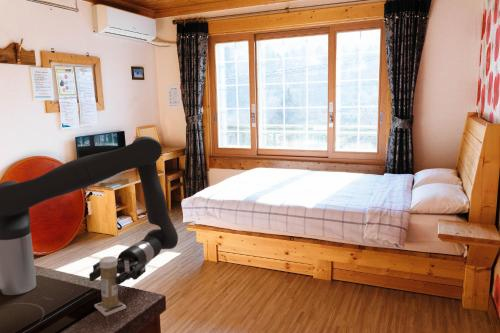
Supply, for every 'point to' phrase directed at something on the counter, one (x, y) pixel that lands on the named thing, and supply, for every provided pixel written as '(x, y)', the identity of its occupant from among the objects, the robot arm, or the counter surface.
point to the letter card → (109, 310)
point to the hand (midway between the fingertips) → (103, 279)
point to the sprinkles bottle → (109, 282)
